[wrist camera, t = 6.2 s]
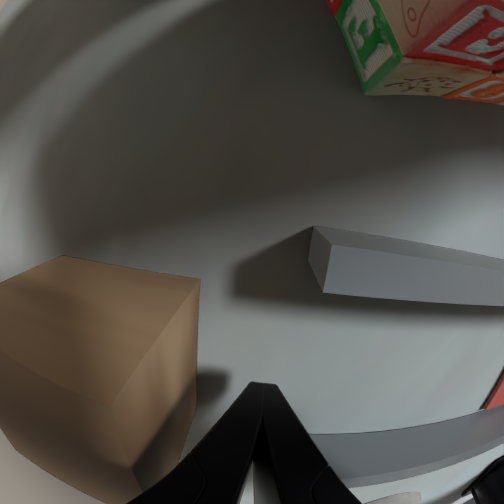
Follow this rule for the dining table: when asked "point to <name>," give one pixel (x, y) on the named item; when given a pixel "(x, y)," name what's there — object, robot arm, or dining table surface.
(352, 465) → the trap channel
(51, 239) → the dining table surface
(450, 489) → the dining table surface
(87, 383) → the tan cube
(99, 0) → the dining table surface
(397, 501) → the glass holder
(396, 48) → the stack of blocks
